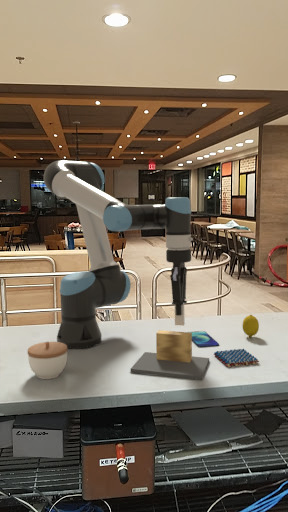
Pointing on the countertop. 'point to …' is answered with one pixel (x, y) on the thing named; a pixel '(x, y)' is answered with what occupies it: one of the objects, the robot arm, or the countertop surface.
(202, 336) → the smartphone
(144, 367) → the mat
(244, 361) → the woven mat
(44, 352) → the lidded jar
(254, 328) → the lemon
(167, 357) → the block
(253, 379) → the countertop surface
